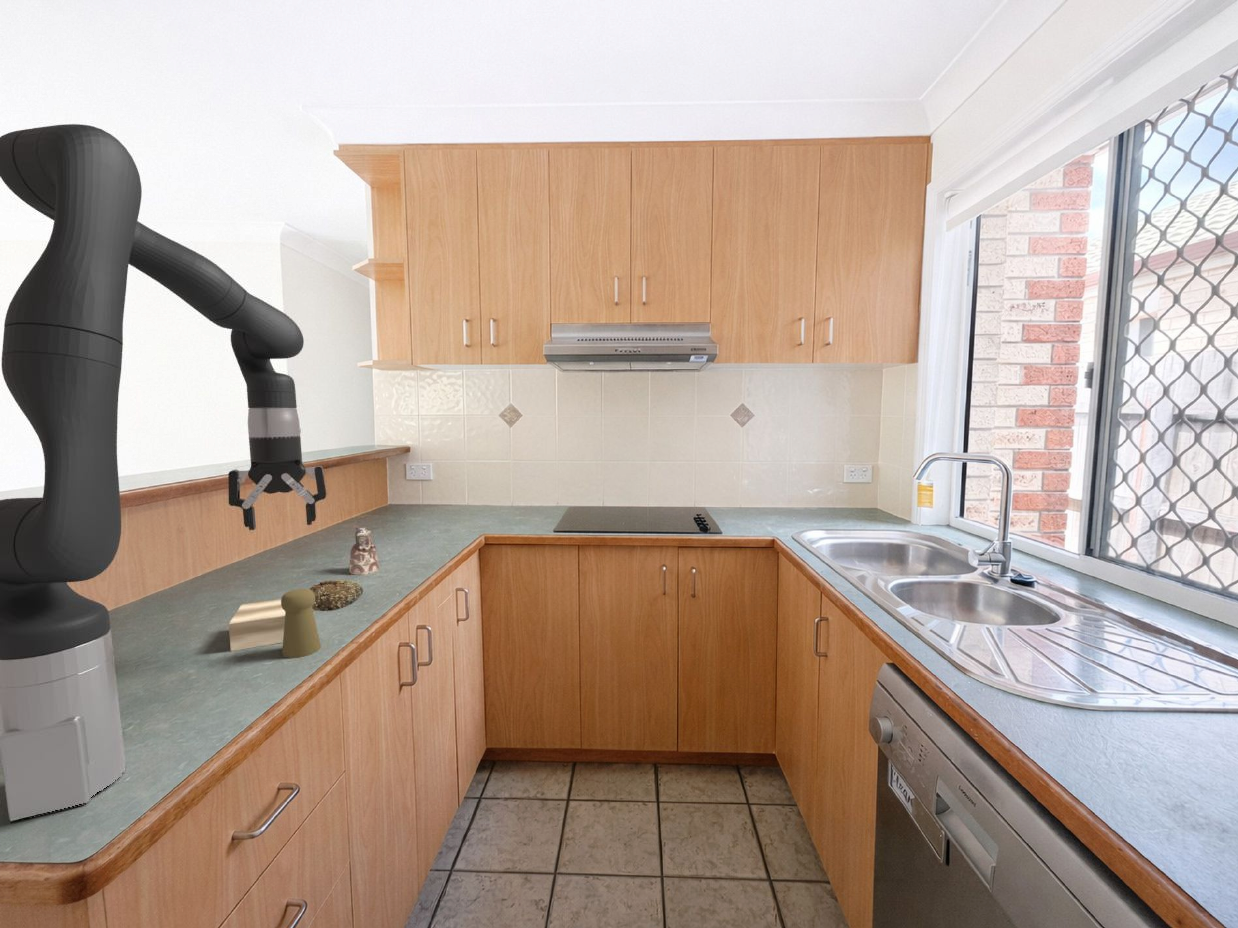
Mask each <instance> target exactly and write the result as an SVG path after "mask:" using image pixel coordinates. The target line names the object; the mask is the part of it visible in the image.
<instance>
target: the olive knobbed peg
mask: <svg viewBox="0 0 1238 928" xmlns="http://www.w3.org/2000/svg"><path fill="white" fill-rule="evenodd" d="M280 599H281V606H282V609H283V610H284V611H285V624H284V637H283V642H282V649H281V650H282V651H281V653H282V654H281V655H282V657H284V658H287V659H297V658H302V657H306V656H310V655H312V654H314V653H317V652H318V651H319V650H321V649H322V645H321V641H320V636H319V632H318V631H319V630H318V628H317V624H316V618H315V615H314V614H315V613H314V610H313V609H312V606H313V604H314V602H315V595H314V593H313V591H312V590H310V588H298V589H293V590H289V591H286V592H285V593H284V594H283V595H282V596H281V598H280Z"/></svg>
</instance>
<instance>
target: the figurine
mask: <svg viewBox="0 0 1238 928" xmlns="http://www.w3.org/2000/svg"><path fill="white" fill-rule="evenodd" d="M355 529H356V530H355V538H354V539H355V543H354V544H353V546H352V547H351V550H350V552H349V555H350V557H349V566H348V567H349V568H348V570H349V574H350V573H351V574H350V575H352V574H355V575H356V576H358V575H359V576H360V575H361V576H364V575H363V574H365V575H369V574H368V573H370V574H373V573H375V571H376V572H378V571H379V570H380V566H379V560H378V553H377V546H376V545H375V544H374V543H373V540H372V531H371V530H370V529H368V527H367V528H366V527H361V526H359V525H358V526H356V527H355Z"/></svg>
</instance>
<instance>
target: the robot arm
mask: <svg viewBox="0 0 1238 928" xmlns="http://www.w3.org/2000/svg"><path fill="white" fill-rule="evenodd" d="M0 179H1V180H2V181H3V183H4V184H5V185H6V187H7V188H8V189H9V190H10V191H11V192H12V193H13V194H14V195H16V197H18V198H19V199H20V200H22V201H23V202H24V203H25V204H27V205H28V206H29V207H31V208H32V209H34V210H36V211H37V212H39V213H40V214H41V215H44V216H45V217H47V218H48V219H50V220H52V221H53V225H52V226H53V227H52V231H51V235H50V237H49V239H48V242H47V245H46V247H45V248H44V250H43V252H42V253H41V255H40V257H39V258H38V260H37V261H36V262H35V264H34V265H33V267H32V268H31V269H30V270H29V272H28V273H27V275H26V276H25V278H24V279H23V281H22V282H21V284H20V285H19V286H18V288H17V290H16V292H15V293H14V295H13V297H12V299H11V301H10V302H9V306H8V308H7V310H6V314H5V318H4V325H3V327H4V328H3V336H2V337H3V338H2V339H3V340H2V349H1V351H2V352H1V372H2V377H3V380H4V382H5V384H6V386H7V389H8V390H9V392H10V394H11V396H12V398H13V399H14V401H15V403H16V404H17V405H18V407H19V408H20V411H21V412H22V413H23V415H24V416H25V417H26V419H27V420H28V422H29V423H30V424H31V427H32V429H33V430H34V432H35V434H36V435H37V437H38V440H39V441H40V444H41V449H42V453H43V460H44V483H43V484H44V485H43V494H42V497H15V498H13V497H12V498H5V499H0V762H1V768H2V770H1V771H2V777H3V783H4V790H5V797H6V798H5V799H6V808H7V813H8V820H9V819H13V818H18V817H19V818H21V817H24V816H30V815H34V814H35V815H36V814H41V813H45V812H50V813H53V812H52V811H54V812H56V811H55V810H58V811H61V810H60V809H62V810H65V809H64V808H66V809H69V808H68V807H70V808H73V807H72V806H74V807H76V806H75V805H78V806H80V805H79V804H82V805H84V804H83V803H86V804H87V801H89V799H90V798H91V797H92V796H93V795H94V796H96V795H97V794H96V793H97V792H99V791H101V790H102V791H104V790H105V789H104V788H106V787H107V786H109V785H110V784H111V785H113V784H114V783H115V782H116V781H118V780H119V779H120V778H121V777H122V776H123V774H124V773H123V772H125V771H126V768H125V767H126V756H125V747H124V740H123V738H124V737H123V732H122V731H123V730H122V723H121V722H122V721H121V713H120V704H119V695H118V686H117V678H116V667H115V659H114V648H113V639H112V631H111V620H110V613H109V610H108V608H107V607H106V606H105V605H104V604H102V603H100V602H97V601H95V600H93V599H89V598H88V597H85V596H83V595H81V594H79V593H77V592H76V591H75V590H74V589H72V588H71V587H70V585H68V583H76V582H77V583H79V582H82V581H83V582H85V581H88V580H91V579H94V578H96V577H98V576H100V575H101V574H103V572H105V571H106V569H108V568H109V567H110V565H111V563H112V562H113V561H114V559H115V557H116V555H117V553H118V549H119V547H120V542H121V535H122V508H121V506H122V505H121V495H120V493H121V492H120V482H119V480H120V479H119V467H118V466H119V465H118V445H117V444H118V417H119V416H118V414H119V412H118V409H119V394H120V384H121V375H122V365H123V364H122V363H123V347H124V335H123V334H124V333H123V332H124V331H123V329H124V326H123V325H124V314H125V313H124V312H125V303H126V293H127V283H128V281H127V280H128V272H129V265H130V266H131V267H133V268H135V269H137V270H138V271H140V272H142V273H143V274H144V275H146V276H148V277H150V278H151V279H153V280H154V281H155V282H157V283H159V284H160V285H161V286H163V287H164V288H166V289H168V290H169V291H170V292H171V293H173V294H174V295H175V296H177V297H178V298H180V299H181V300H182V301H184V302H185V303H186V304H187V305H188V306H190V307H191V308H192V309H194V310H196V311H197V312H198V313H199V314H201V315H202V316H203V317H205V318H206V319H207V320H208V321H210V322H212V323H213V324H214V325H215V326H218V327H220V328H223V329H228V330H230V331H231V332H230V345H231V347H232V352H233V354H234V357H235V358H236V361H237V364H238V367H239V369H240V372H241V374H242V377H243V380H244V381H245V384H246V395H247V397H246V398H247V408H248V410H247V411H248V415H247V433H248V443H249V444H248V445H249V457H250V458H249V459H250V468H249V470H240V469H236V468H235V469H232V470H230V471H229V472H228V479H227V480H228V487H227V488H228V505H229V506H231V507H238V508H241V509H242V515H243V516H242V519H243V525H244V527H245V528H248V530H249V531H255V530H256V529H257V525H256V513H255V512H256V510H255V507H254V506H253V505H254V504H255V502H256V501H257V500H258V499H259V497H260V496H261V495H262V493H267V494H269V495H271V494H272V495H273V494H276V493H283V494H286V493H288V494H289V493H290V492H293V491H294V492H295V493H296V494H297V495H299V496H300V497H301V498H302V499H303V500H304V501H305V502H306V503H305V515H306V524H307V526H312V525H313V522H316V519H317V511H316V510H317V509H316V504H317V502H319V501H322V500H324V499H326V497H327V489H326V481H325V475H324V474H325V473H324V468H323V466H322V465H317V466H312V467H305V466H304V463H303V458H302V457H303V455H302V443H301V442H302V441H301V433H302V432H301V431H302V430H301V427H300V418H299V414H298V408H297V407H298V406H297V392H296V384H295V381H294V379H293V377H292V376H290V375H289V374H285V373H280V372H277V371H276V370H275V368H274V367H273V364H272V362H271V360H281V359H282V360H285V359H290V358H294V357H296V356H297V355H300V353H301V352H302V350H303V348H304V345H305V344H304V336H303V333H302V330H301V329H300V327H299V325H298V324H297V323H296V322H295V321H294V320H293V319H292V318H291V317H290V316H289V315H287V314H286V313H284V312H283V311H281V310H280V309H278V308H276V307H275V306H273V305H271V304H270V303H267V302H266V301H264V300H262V299H260V298H259V297H256V296H255V295H252V294H251V293H250V292H248V291H247V290H246V289H245V288H244V287H243V286H242V285H241V284H239V283H238V282H237V281H236V280H235V279H234V278H233V277H232V276H230V274H228V273H227V272H226V271H225V270H224V269H222V268H221V267H220V266H219V265H217V263H215V262H213V261H212V260H211V259H209V258H207V257H205V256H204V255H202V254H200V253H198V252H197V251H194V250H193V249H190V248H189V247H187V246H186V245H183V244H181V243H179V242H176V241H175V240H173V239H171V238H169V237H166V235H165V236H164V235H163V234H161V233H159V232H157V231H155V230H153V229H152V228H149V227H148V226H146V225H145V224H143V223H141V222H139V221H138V220H139V215H140V209H141V202H142V182H141V175H140V172H139V170H138V167H137V165H136V162H135V160H134V159H133V156H132V155H131V154H130V152H129V151H128V149H127V148H126V146H124V144H122V143H121V141H120V140H118V138H116V137H115V136H114V135H113V134H111V133H109V132H107V130H106V131H105V130H104V129H102V128H99V127H95V126H92V125H88V124H80V123H79V124H77V123H76V124H75V123H71V124H70V123H69V124H68V123H67V124H56V125H55V124H54V125H48V126H47V125H46V126H39V127H33V128H27V129H26V128H25V129H20V130H19V129H18V130H15V131H10V132H8V133H5V134H3V135H1V136H0ZM306 474H308V476H310V478H311V479H313V480H315V484H316V491H317V493H314V494H313V493H311V491H309V490H308V488H307V487H306V486H305V485H304V484H303V483H302V482H301V481H302V480H303V478H304V477H305V475H306ZM247 477H248V478H249V479H250V480H251V481H252V482H253V483H254V484H255V485H256V486H254V489H253V490H252V491H251V492H250V493H249V495H248V496H247V497H246V499H244V498H241V484H242V483H244V482H245V480H246V478H247ZM122 773H123V774H122ZM119 777H120V778H119ZM118 778H119V779H118ZM117 779H118V780H117ZM115 780H116V781H115ZM113 782H114V783H113ZM112 783H113V784H112ZM111 785H110V786H111ZM110 786H109V787H110ZM107 788H108V787H107ZM107 788H106V789H107ZM103 789H104V790H103ZM102 791H101V792H102ZM99 793H100V792H99ZM95 794H96V795H95ZM94 796H93V797H94ZM93 797H92V798H93ZM92 798H91V799H92ZM91 799H90V800H91ZM89 802H90V801H89Z"/></svg>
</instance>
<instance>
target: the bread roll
mask: <svg viewBox="0 0 1238 928" xmlns="http://www.w3.org/2000/svg"><path fill="white" fill-rule="evenodd" d="M309 589H310V590H312V591H313V593H314V595H315V602H314V604H313V606H312V609H313V611H325V612H327V611H328V612H329V611H336V610H339V609H341V608H345V607H346V606H348V605H350V604H352V603H354V602H355V601H356V600H358V599H359V597H360V596H361V595H363V593H364V589H363V587H362V586H361V584H360V583H359V584H358V583H357V582H355V581H349V580H347V579H336V580H335V579H334V580H323V581H321V582H319V583H317V584H314V585H313V586H311V587H310V588H309Z"/></svg>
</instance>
